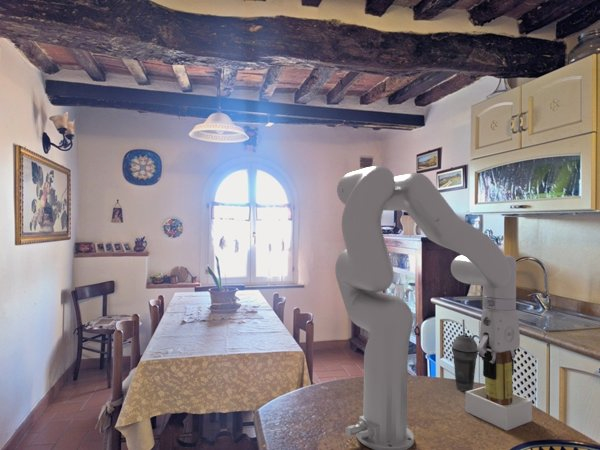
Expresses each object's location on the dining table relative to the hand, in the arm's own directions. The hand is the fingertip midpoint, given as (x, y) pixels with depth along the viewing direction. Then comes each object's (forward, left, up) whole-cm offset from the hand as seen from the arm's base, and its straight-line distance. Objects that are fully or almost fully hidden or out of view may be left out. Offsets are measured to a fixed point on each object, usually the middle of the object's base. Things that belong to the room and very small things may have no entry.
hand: (498, 374), depth 100 cm
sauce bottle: (0, 0, -7) cm, 7 cm away
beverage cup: (+7, +16, -10) cm, 20 cm away
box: (0, 0, -10) cm, 10 cm away
